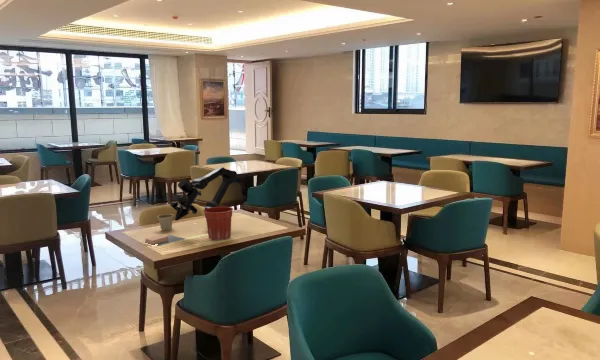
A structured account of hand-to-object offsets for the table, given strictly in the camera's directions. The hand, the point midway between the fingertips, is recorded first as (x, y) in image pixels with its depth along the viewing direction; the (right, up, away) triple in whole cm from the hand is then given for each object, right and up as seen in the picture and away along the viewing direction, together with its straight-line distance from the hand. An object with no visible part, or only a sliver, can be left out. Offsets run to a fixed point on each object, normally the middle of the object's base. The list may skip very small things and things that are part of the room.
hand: (175, 220), depth 278 cm
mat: (-6, -11, -5) cm, 14 cm away
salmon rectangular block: (-5, -9, -5) cm, 12 cm away
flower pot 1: (-11, -8, +21) cm, 25 cm away
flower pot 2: (+25, -10, 0) cm, 27 cm away
